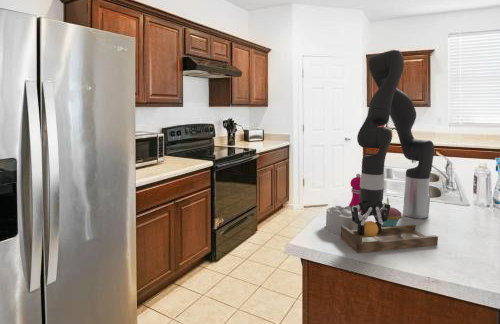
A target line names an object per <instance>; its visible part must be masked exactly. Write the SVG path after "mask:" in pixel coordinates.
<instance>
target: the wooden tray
mask: <svg viewBox="0 0 500 324" xmlns="http://www.w3.org/2000/svg"><path fill="white" fill-rule="evenodd" d="M340 240H341V241H342V242H343V243H344V244H346V245H347V246H348V247H350V249H352V250H353V251H355V252H356V253H357V254H363V253H364V254H365V253H372V252H373V253H374V252H382V251H391V250H402V249H410V248H418V247H419V248H421V247H429V246H437V245H438V241H439V236H437V235H436V234H435V235H434V234H433V235H425V234H423V233H421V232H419V231H418V230H417V225H416V224H405V225H396V226H393V227H387V226H384V227H382V226H381V232H380V234H376V235H375V236H374V237H366V236H365V235H362V236H361V235H360V234H359V233H358V231H357V230H350V229H348V228H347V227H345V226H341V235H340Z"/></svg>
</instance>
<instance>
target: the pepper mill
mask: <svg viewBox="0 0 500 324" xmlns="http://www.w3.org/2000/svg"><path fill="white" fill-rule="evenodd" d="M355 176H356V177H352V178H351V181H350V182H349V183H350V187H351V194H352V198H351V200H350V201H349V202H350V203H349V204H348V206H350V207H351V206H352V205H353V206H357V205H359V203H360V198H359V196H360V178H361V173H356V175H355ZM360 211H361V210H360V209H359V212H360ZM363 215H364V214H363Z"/></svg>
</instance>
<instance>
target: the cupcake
mask: <svg viewBox="0 0 500 324" xmlns="http://www.w3.org/2000/svg"><path fill="white" fill-rule="evenodd" d="M388 197H389V196H387V197H386V204H389V205H390V201H389V200H390V199H389V198H388ZM381 212H382V208H381V210H380V213H381ZM402 214H403V213H402V212H401V211H400V210H399V209H397V208H395V207H391V206H390V211H389V215H388V219H387V221H386V222H385V221H384V222H383V223H382V224H383V226H384V227H393V226H397V224H398V222H399V220H401V219H402V218H403V217H402Z"/></svg>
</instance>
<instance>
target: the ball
mask: <svg viewBox="0 0 500 324" xmlns="http://www.w3.org/2000/svg"><path fill="white" fill-rule="evenodd" d="M377 233H378V226H377V224H376V223H375V221H373V220H365V223H364V235H365V236H366V237H374V236H375V235H376V234H377Z"/></svg>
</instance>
